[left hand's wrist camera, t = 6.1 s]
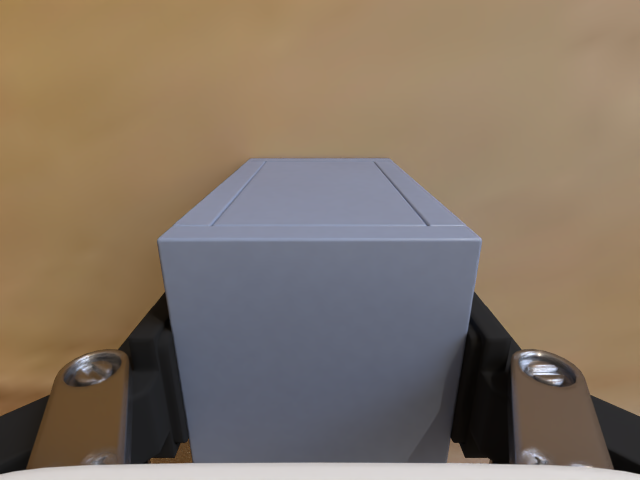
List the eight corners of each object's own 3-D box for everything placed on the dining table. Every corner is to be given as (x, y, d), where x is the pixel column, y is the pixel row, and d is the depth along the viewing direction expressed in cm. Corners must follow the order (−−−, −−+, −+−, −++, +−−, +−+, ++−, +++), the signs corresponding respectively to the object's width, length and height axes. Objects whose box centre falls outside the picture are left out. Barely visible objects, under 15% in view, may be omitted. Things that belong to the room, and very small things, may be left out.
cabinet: (370, 470, 24) (404, 729, 14) (269, 470, 24) (235, 729, 14) (389, 158, 17) (483, 238, 7) (249, 158, 17) (155, 238, 7)
